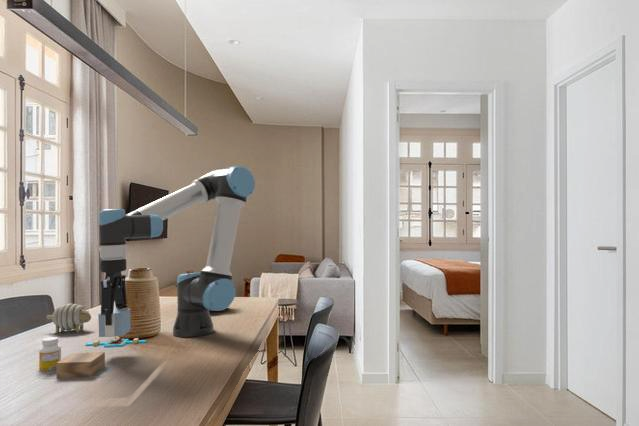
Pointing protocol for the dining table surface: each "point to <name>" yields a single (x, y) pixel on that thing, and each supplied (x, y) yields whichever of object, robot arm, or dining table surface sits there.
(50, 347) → the supplement bottle
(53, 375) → the board
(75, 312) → the toy sheep
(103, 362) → the base brick
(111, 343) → the gear mechanism
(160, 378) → the dining table surface
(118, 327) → the blue cube
